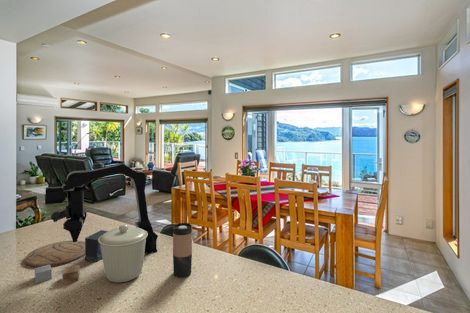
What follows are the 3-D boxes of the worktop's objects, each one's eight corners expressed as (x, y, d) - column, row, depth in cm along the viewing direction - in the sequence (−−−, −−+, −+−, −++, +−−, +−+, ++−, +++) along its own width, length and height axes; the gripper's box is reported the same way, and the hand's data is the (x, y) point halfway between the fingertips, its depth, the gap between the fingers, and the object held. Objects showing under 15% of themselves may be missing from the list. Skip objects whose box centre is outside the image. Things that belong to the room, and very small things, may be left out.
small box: (97, 262, 114) (96, 239, 113) (84, 260, 115) (83, 238, 114) (113, 252, 124) (112, 230, 123) (101, 250, 125) (100, 229, 124)
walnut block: (79, 274, 104) (79, 265, 103) (78, 281, 99) (77, 271, 99) (64, 277, 101) (64, 267, 101) (62, 284, 97) (62, 274, 97)
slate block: (50, 273, 104) (50, 264, 104) (51, 279, 100) (51, 269, 100) (34, 278, 101) (34, 268, 100) (35, 283, 97) (35, 273, 97)
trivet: (50, 273, 105) (50, 268, 105) (11, 262, 113) (11, 258, 113) (101, 248, 128) (101, 245, 128) (66, 240, 137) (65, 237, 137)
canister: (98, 294, 91) (97, 236, 90) (99, 270, 107) (98, 220, 106) (151, 281, 100) (151, 228, 98) (144, 261, 116) (144, 215, 114)
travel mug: (195, 270, 108) (195, 224, 107) (185, 279, 101) (186, 230, 100) (179, 267, 111) (179, 221, 109) (169, 276, 104) (169, 227, 102)
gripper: (57, 198, 112) (58, 232, 113) (46, 209, 95) (48, 250, 96) (86, 196, 117) (87, 229, 118) (81, 206, 100) (82, 245, 101)
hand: (76, 238), depth 108 cm, fingers open, 9 cm apart
